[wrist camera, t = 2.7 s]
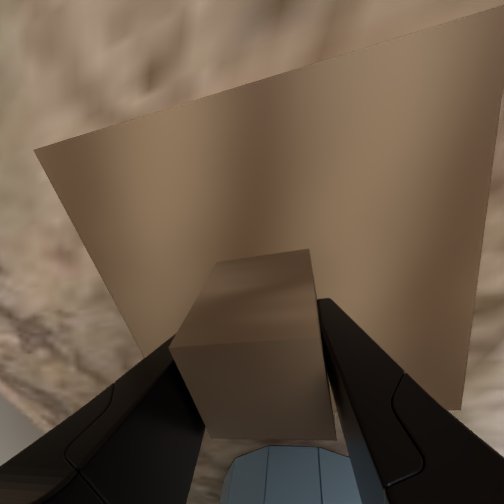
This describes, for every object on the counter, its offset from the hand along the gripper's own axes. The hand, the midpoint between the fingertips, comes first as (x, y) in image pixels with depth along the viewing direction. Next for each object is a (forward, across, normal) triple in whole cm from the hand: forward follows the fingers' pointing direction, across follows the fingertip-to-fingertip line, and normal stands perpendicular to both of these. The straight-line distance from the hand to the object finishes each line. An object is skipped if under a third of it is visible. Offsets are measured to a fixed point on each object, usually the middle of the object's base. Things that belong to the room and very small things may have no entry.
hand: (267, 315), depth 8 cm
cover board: (+2, 0, 0) cm, 2 cm away
